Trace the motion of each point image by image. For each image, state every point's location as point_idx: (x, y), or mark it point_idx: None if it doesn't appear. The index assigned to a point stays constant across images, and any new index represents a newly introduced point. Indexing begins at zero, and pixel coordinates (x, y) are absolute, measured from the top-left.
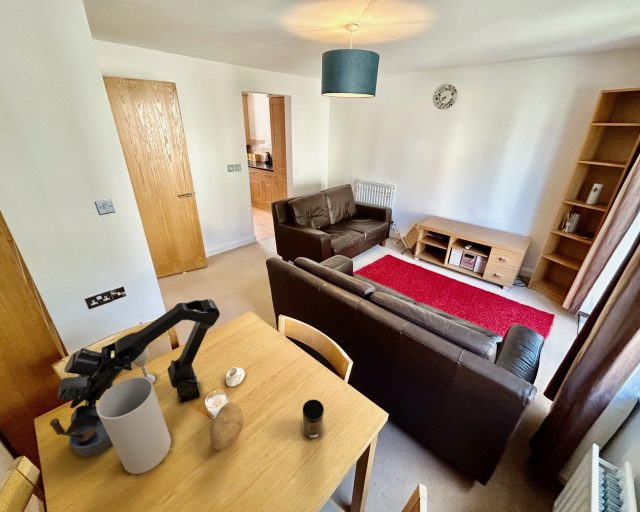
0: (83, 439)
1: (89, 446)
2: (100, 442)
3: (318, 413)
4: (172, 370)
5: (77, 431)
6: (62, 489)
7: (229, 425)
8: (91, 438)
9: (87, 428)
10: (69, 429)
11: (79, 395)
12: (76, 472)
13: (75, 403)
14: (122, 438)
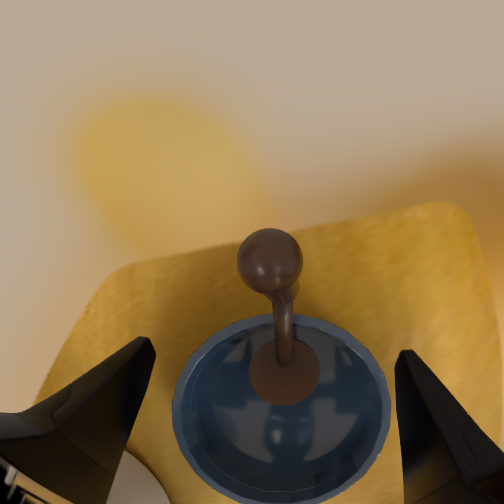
0: (259, 363)
1: (176, 388)
2: (174, 424)
3: None
4: None
5: (331, 336)
6: (137, 289)
7: None
8: (254, 387)
9: (316, 377)
10: (103, 365)
11: (435, 464)
12: (165, 326)
13: (407, 398)
14: None
